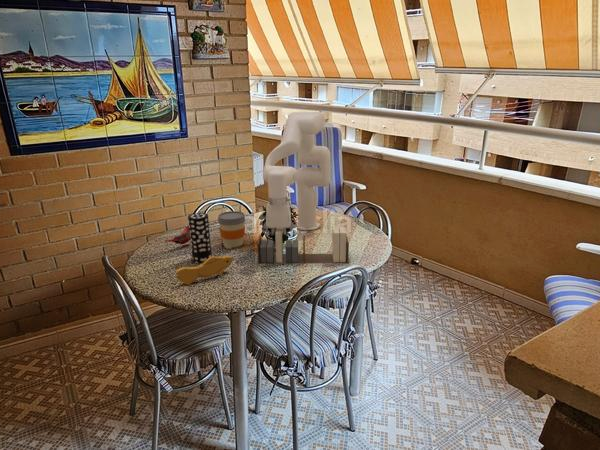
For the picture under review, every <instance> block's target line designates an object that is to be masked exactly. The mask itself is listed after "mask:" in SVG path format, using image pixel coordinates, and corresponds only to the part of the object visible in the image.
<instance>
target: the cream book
mask: <svg viewBox="0 0 600 450" xmlns="http://www.w3.org/2000/svg"><path fill="white" fill-rule="evenodd" d="M282 235H283V228H275V239H276V243H275V254H276V263H282V261H283V254H284V244H283V239H282Z"/></svg>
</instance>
